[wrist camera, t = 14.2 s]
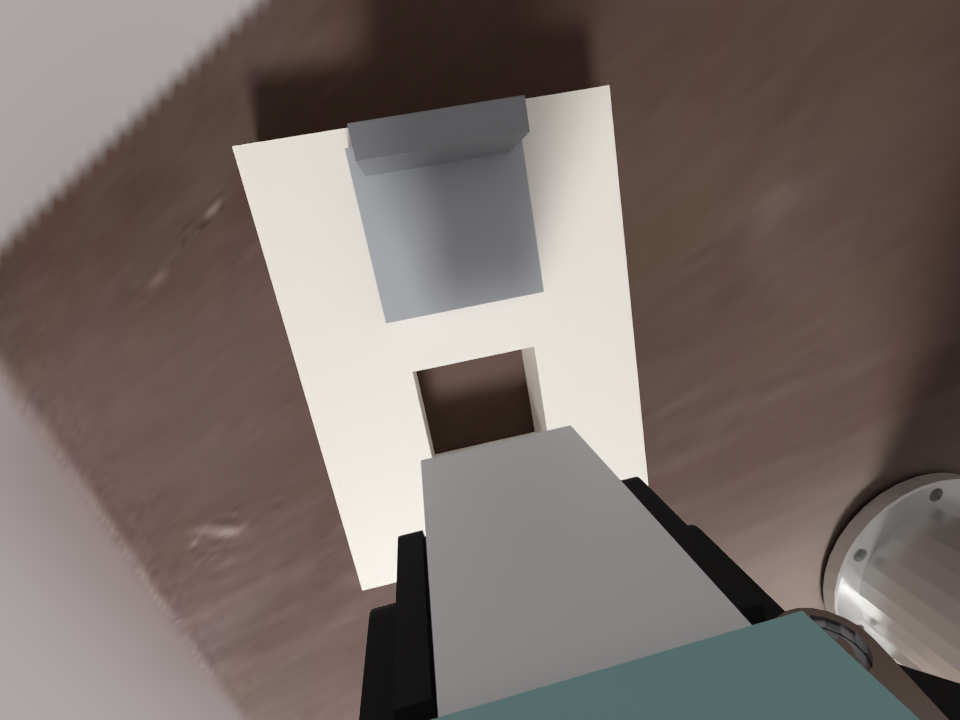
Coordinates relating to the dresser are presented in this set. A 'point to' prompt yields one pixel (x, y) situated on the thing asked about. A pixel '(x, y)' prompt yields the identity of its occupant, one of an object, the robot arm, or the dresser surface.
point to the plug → (602, 606)
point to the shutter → (446, 206)
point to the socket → (448, 317)
